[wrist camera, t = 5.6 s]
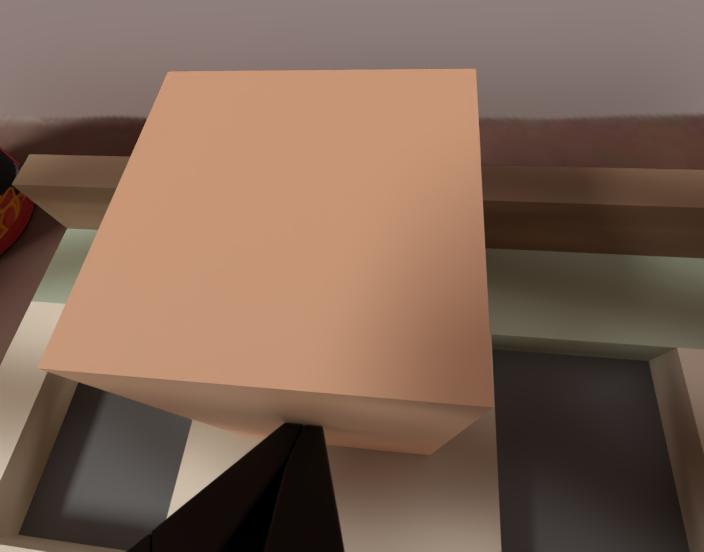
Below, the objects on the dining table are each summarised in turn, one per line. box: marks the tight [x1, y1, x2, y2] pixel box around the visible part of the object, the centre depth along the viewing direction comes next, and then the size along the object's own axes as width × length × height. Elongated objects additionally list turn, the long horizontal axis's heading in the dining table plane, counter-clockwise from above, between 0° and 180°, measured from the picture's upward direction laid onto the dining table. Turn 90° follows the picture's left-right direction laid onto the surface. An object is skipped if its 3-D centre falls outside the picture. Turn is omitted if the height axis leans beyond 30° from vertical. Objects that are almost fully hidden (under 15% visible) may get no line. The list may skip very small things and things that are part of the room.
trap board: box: [0, 154, 704, 552], centre depth 12 cm, size 20×26×5 cm
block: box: [38, 69, 494, 455], centre depth 11 cm, size 6×6×9 cm
